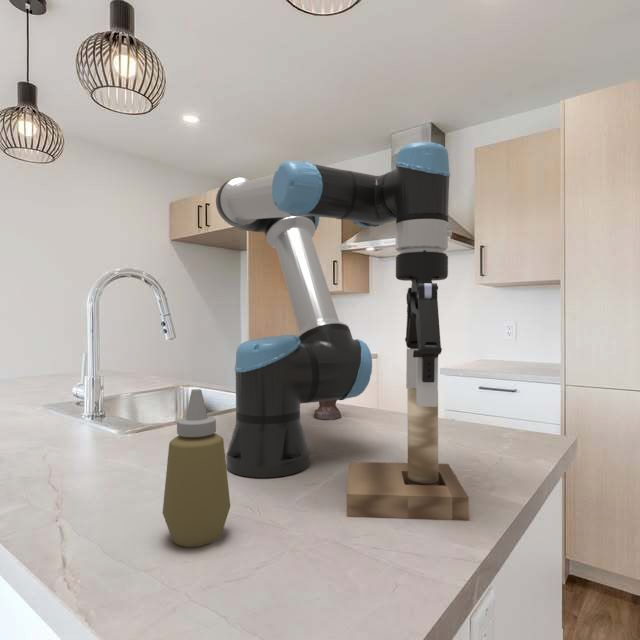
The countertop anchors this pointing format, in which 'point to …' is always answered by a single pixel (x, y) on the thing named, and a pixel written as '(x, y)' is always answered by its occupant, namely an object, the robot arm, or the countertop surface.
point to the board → (403, 493)
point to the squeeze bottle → (196, 479)
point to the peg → (422, 442)
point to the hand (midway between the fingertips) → (420, 396)
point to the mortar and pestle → (327, 410)
